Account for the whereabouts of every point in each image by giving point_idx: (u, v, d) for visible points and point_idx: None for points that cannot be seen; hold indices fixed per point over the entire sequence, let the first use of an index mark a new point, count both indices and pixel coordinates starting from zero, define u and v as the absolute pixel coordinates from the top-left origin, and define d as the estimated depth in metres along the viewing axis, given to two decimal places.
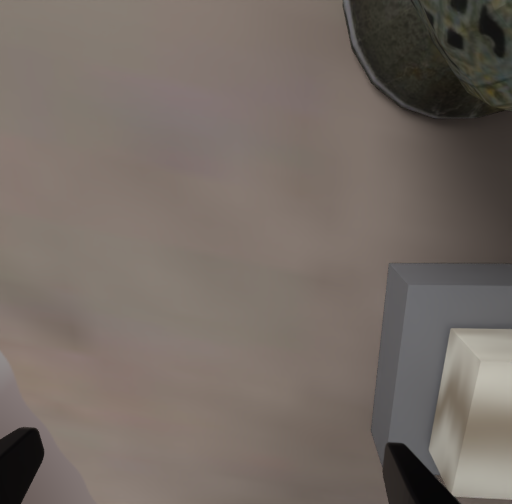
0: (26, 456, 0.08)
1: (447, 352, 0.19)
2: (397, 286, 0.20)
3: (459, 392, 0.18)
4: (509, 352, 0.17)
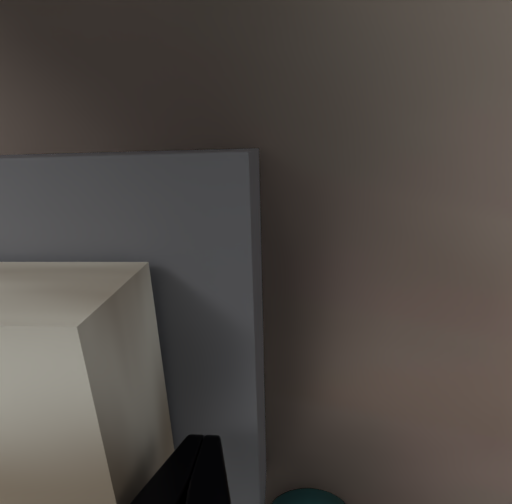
0: None
1: None
2: None
3: None
4: None
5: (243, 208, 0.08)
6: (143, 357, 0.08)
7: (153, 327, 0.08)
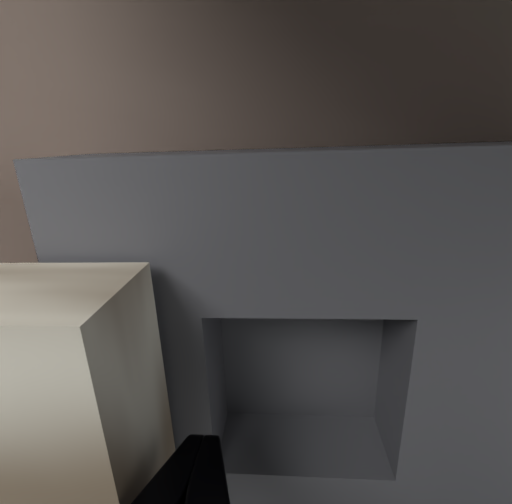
0: None
1: None
2: None
3: None
4: None
5: None
6: (144, 356, 0.08)
7: (154, 327, 0.08)
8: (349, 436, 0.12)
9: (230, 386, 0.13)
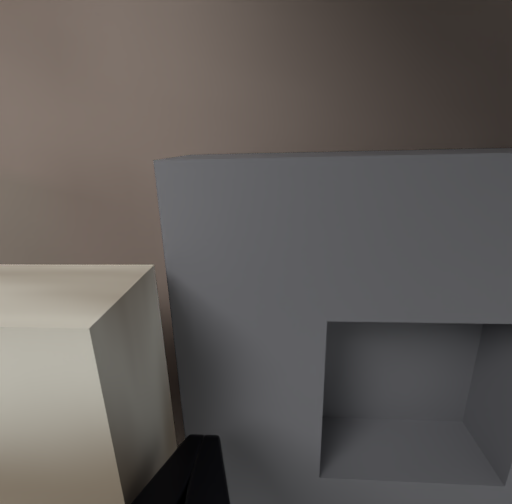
0: None
1: None
2: None
3: None
4: None
5: None
6: (149, 358, 0.08)
7: (158, 328, 0.09)
8: (443, 441, 0.12)
9: None
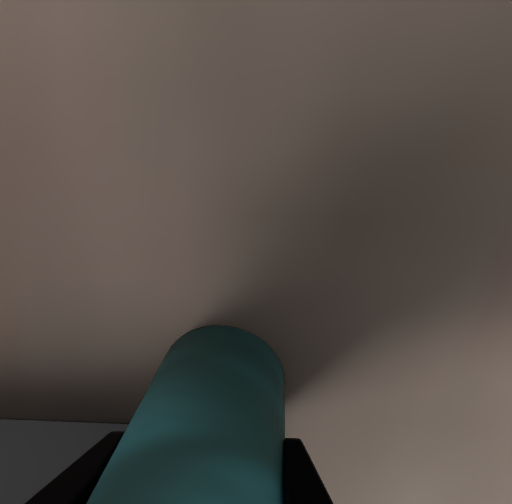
0: None
1: None
2: None
3: None
4: None
5: None
6: None
7: None
8: None
9: None
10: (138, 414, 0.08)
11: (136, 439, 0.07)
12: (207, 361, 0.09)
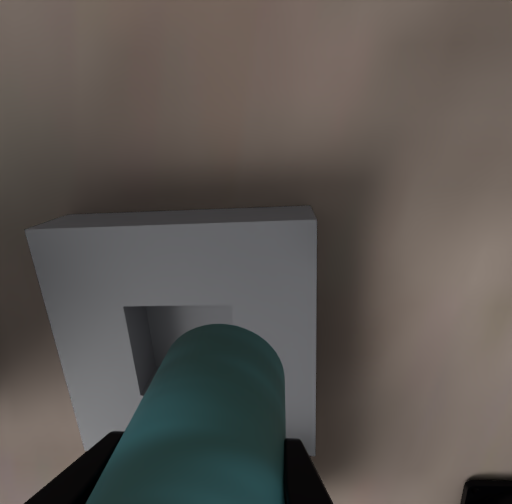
0: None
1: None
2: None
3: None
4: None
5: (50, 232, 0.16)
6: None
7: None
8: None
9: None
10: (139, 412, 0.08)
11: (138, 437, 0.07)
12: (207, 359, 0.09)
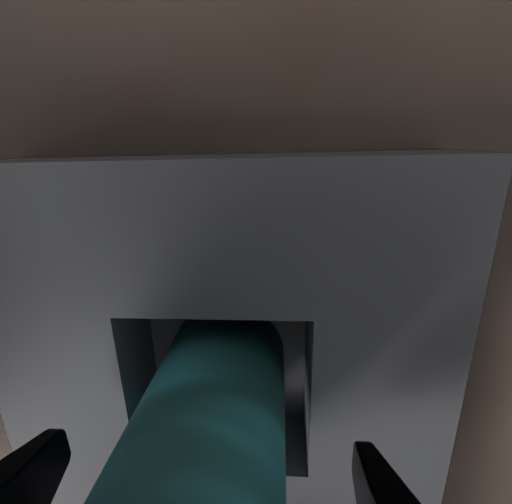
0: (55, 457, 0.08)
1: None
2: None
3: None
4: None
5: None
6: None
7: None
8: (308, 326, 0.11)
9: None
10: (159, 371, 0.09)
11: (161, 386, 0.08)
12: (217, 329, 0.10)
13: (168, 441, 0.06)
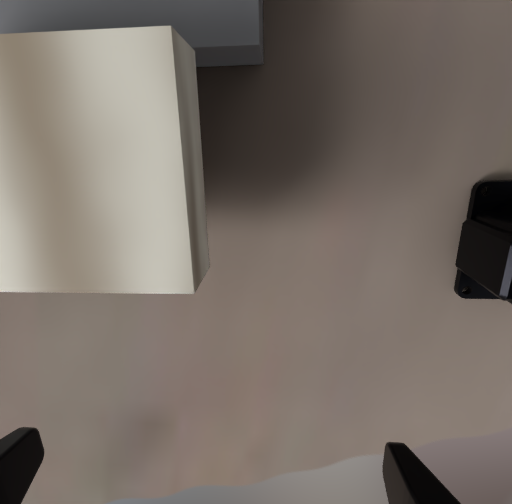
0: (26, 456, 0.08)
1: None
2: None
3: None
4: None
5: None
6: None
7: None
8: None
9: None
10: None
11: None
12: None
13: None
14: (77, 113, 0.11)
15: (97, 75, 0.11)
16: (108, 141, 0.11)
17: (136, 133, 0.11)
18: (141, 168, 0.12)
